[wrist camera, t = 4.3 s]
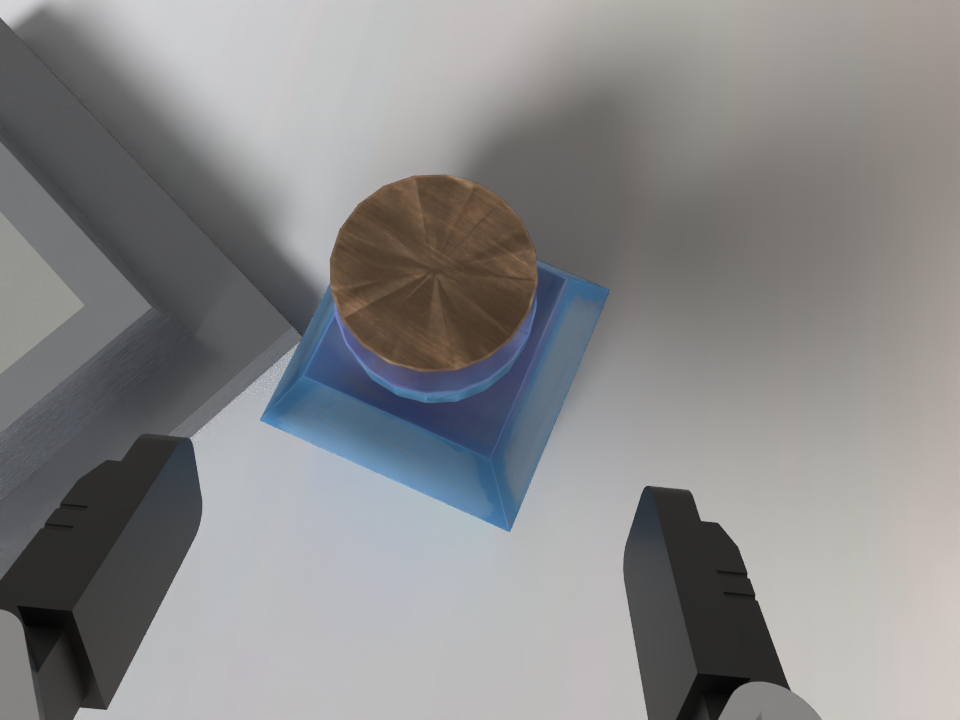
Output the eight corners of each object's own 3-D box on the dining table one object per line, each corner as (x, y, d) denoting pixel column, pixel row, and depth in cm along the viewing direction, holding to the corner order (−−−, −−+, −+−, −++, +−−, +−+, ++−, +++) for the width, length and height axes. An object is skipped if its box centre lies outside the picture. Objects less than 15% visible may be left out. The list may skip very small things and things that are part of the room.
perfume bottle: (313, 444, 22) (149, 371, 10) (396, 274, 23) (339, 31, 11) (493, 524, 21) (544, 548, 10) (567, 347, 23) (691, 178, 11)
